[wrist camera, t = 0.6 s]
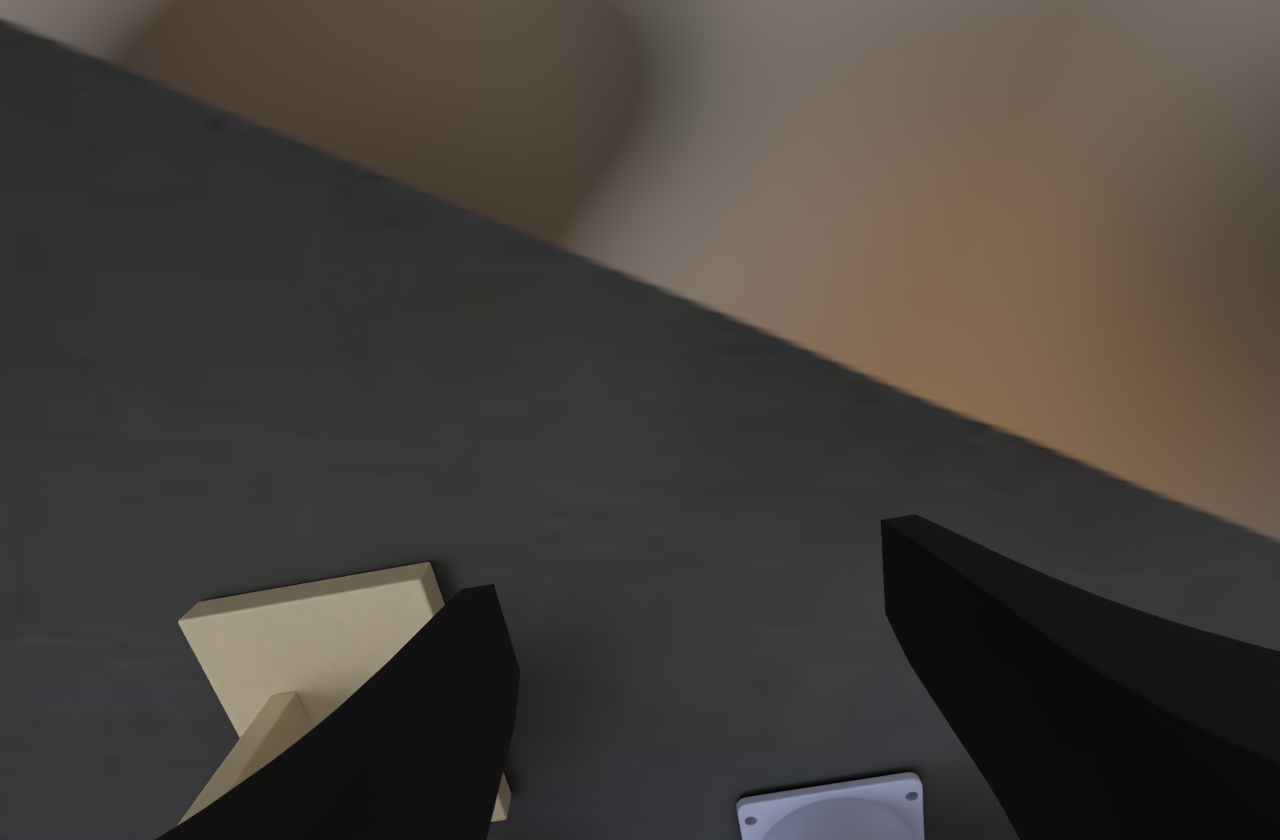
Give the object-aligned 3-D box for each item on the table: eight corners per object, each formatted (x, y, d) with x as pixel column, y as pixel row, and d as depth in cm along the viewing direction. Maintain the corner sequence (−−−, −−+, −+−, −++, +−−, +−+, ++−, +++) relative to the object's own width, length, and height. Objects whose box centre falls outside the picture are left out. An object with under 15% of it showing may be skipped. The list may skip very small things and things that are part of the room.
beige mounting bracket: (512, 794, 26) (454, 1093, 17) (313, 825, 27) (157, 1134, 18) (430, 560, 22) (301, 793, 13) (198, 600, 23) (-77, 853, 14)
